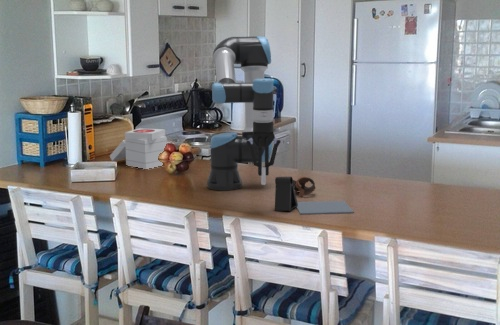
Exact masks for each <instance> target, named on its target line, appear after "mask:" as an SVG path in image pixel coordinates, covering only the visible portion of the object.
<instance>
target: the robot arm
mask: <svg viewBox="0 0 500 325" xmlns="http://www.w3.org/2000/svg"><path fill="white" fill-rule="evenodd" d="M212 61H213V64H214V66H215V76H216V79H215V80H216V82H214V83H212V84H211V85H212V86H211V91H212V92H211V93H212V95H211V96H212V98H211V99H212V102H213V103H215V104H217V103H218V104H234V103H237V104H238V103H239V104H240V103H241V104H242V103H243V104H244V107H245V108H244V111H245V112H244V114H245V115H244V116H245V117H244V118H245V128H244V129H243V130H242V131H241V135H238V133H237V132H234V131H233V132H229V131H228V132H222V133H219V134H218V133H217V134H214V135H213V136H211V137H210V138H211V139H210V145H209V149H210V171H209V174H208V178H207V181H206V186H207V187H206V188H208V189H210V190H214V191H232V190H233V191H234V190H237V189H241V188H242V186H243V181H242V178H241V176H240V175H241V174H240V172H239V170H238V169H239V168H238V165H239V164H240V163H241V164H244V163H249V164H250V163H251V164H253V166H255V167H257V174H258V176H259V177H260V185H261V186H262V185H263V186H265V185H266V183H267V182H266V181H267V177H266V176H269V174H270V172H269V170H270V167H271V166H273V165H274V164H275V159H276V157H277V156H276V155H277V150H278V147H279V146H280V144H281V143H282V142H281V140H280V139H279V138H277V137H276V136H275V134H274V122H273V121H274V90H275V87H274V80H273V79H272V78H265V72H266V71H267V69H268V67H269V66H268V65H270V64H271V63H272V53H271V46H270V42H269V40H268V38H267V37H266V36H259V35H258V36H230V37H228V38H225V39H223V40H222V41H220V42H219V43H218V44H217V45H216V46H215V48H214V49H213V51H212ZM235 65H240V69H241V70H242V71H243V73H244V82H237V81H236V78H237V77H236V72H235ZM262 163H264V165H263V164H262Z"/></svg>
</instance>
